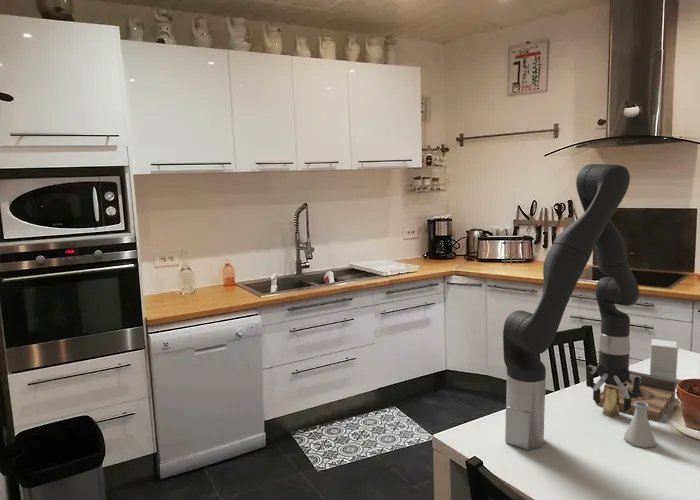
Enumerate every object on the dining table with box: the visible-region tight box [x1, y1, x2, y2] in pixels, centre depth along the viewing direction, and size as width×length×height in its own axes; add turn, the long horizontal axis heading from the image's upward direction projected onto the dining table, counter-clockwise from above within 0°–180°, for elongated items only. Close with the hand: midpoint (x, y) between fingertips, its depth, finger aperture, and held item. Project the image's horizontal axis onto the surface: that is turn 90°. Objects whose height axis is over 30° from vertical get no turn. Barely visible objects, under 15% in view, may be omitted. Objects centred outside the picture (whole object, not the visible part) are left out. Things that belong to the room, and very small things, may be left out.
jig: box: [595, 369, 677, 422], centre depth 151 cm, size 20×16×6 cm
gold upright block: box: [602, 383, 620, 418], centre depth 143 cm, size 4×4×8 cm
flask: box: [623, 401, 656, 449], centre depth 128 cm, size 7×7×10 cm
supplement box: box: [649, 338, 679, 381], centre depth 166 cm, size 7×7×13 cm
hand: (611, 406), depth 143 cm, fingers open, 7 cm apart
